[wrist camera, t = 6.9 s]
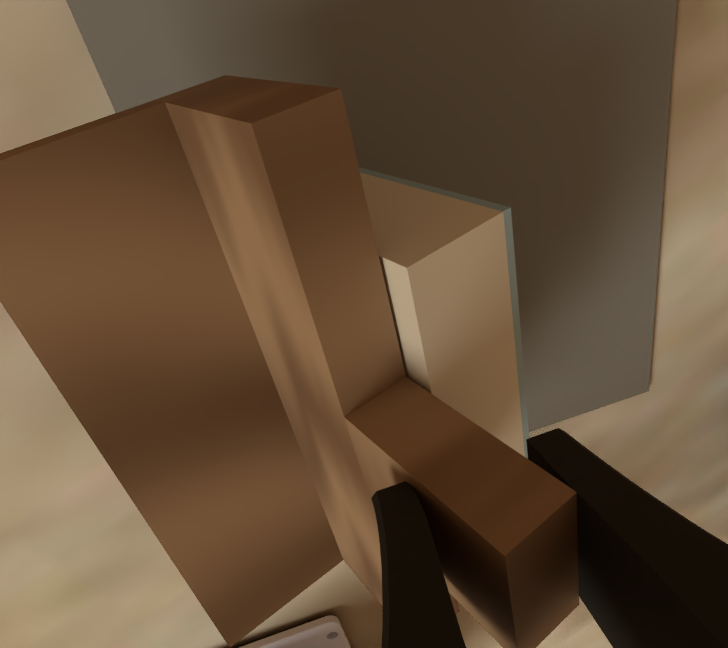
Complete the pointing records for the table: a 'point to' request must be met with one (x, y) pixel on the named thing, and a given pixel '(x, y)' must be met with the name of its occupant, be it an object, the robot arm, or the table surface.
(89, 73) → the table surface
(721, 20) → the table surface
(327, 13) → the charcoal mat
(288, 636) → the robot arm
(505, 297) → the light tan wooden block
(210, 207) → the walnut scraper
